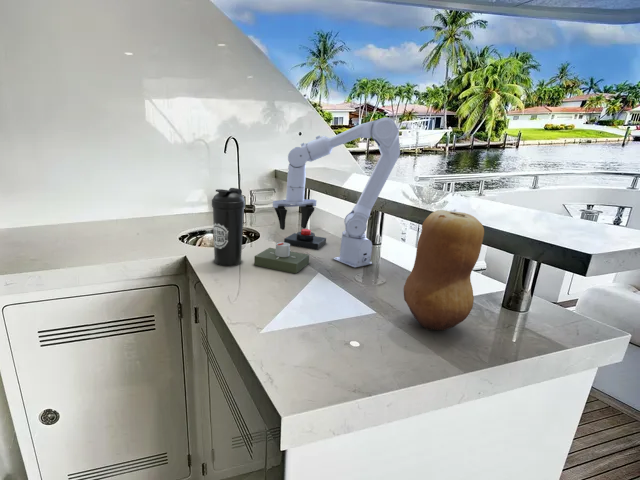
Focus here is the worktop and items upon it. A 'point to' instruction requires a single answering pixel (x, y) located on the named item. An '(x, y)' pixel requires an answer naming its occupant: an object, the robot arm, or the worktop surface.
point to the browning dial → (282, 249)
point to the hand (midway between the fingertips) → (293, 228)
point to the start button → (306, 232)
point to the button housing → (305, 240)
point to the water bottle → (228, 226)
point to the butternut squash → (444, 269)
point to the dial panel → (282, 261)
